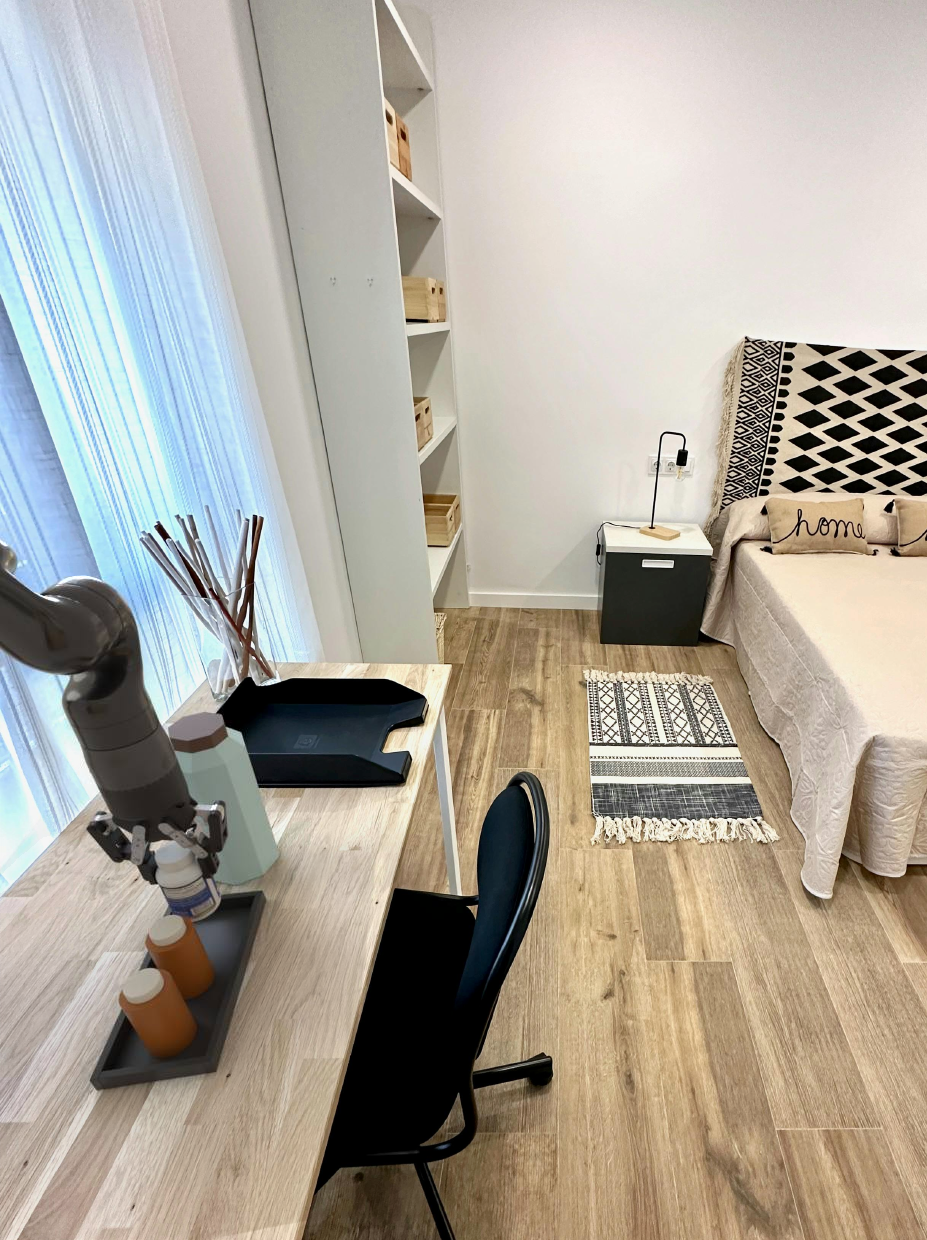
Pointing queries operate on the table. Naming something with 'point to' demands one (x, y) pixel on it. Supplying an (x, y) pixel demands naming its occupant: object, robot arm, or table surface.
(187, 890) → the pill bottle
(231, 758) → the water bottle
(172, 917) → the amber bottle mid
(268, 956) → the table surface
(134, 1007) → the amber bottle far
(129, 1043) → the tray
